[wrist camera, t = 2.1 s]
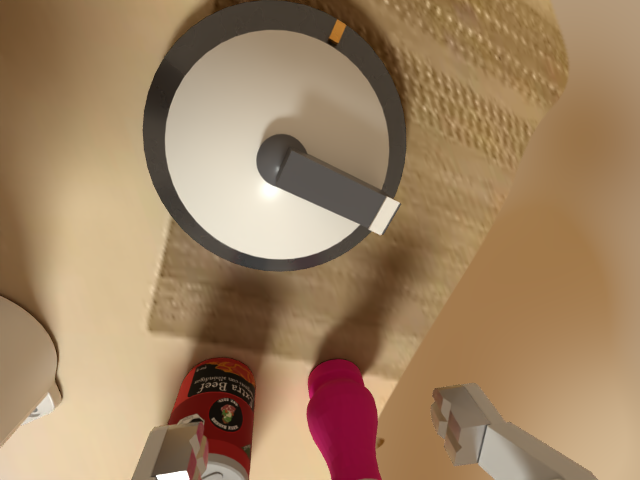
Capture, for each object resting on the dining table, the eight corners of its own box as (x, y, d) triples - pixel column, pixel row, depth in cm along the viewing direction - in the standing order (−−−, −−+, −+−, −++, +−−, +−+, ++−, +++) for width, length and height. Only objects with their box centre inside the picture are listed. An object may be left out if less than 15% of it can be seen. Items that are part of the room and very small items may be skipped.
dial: (144, 207, 24) (108, 233, 19) (216, -18, 20) (195, -65, 14) (327, 276, 29) (338, 313, 23) (420, 106, 24) (460, 105, 19)
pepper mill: (317, 348, 34) (365, 619, 16) (375, 362, 36) (476, 620, 18) (294, 396, 37) (312, 682, 18) (349, 407, 38) (416, 677, 20)
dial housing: (259, 298, 31) (258, 313, 29) (93, 117, 23) (72, 118, 21) (434, 182, 29) (448, 188, 26) (313, -58, 21) (318, -80, 19)
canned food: (268, 369, 35) (265, 475, 24) (235, 417, 37) (219, 533, 27) (203, 344, 32) (170, 450, 22) (171, 397, 34) (127, 515, 24)
